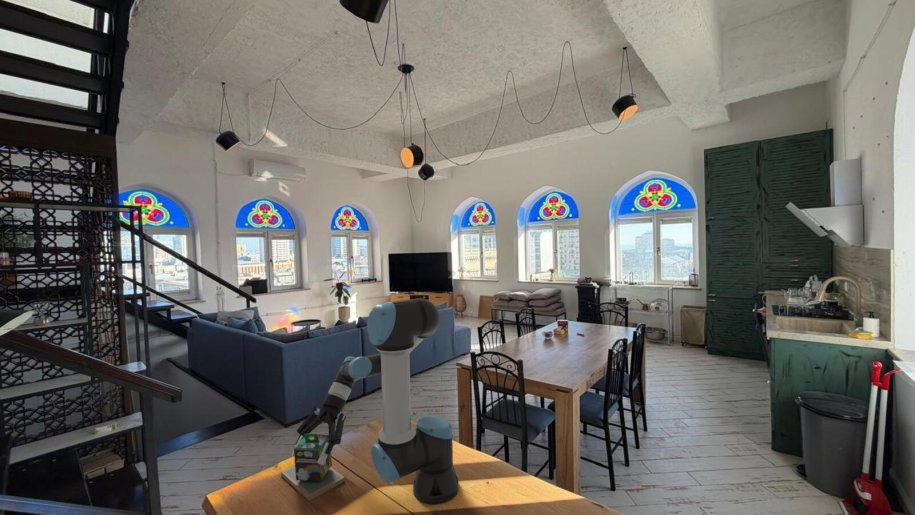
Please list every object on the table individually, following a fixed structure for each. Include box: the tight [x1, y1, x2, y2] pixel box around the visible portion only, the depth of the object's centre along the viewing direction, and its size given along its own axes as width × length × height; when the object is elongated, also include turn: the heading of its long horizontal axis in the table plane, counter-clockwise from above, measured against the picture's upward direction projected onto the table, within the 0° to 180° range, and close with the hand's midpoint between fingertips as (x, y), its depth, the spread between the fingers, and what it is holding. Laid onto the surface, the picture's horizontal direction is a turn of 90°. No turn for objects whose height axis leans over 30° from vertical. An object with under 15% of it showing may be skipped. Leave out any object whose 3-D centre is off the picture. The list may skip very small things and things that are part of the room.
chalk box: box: [293, 433, 333, 481], centre depth 134 cm, size 9×9×15 cm
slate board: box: [280, 465, 346, 502], centre depth 136 cm, size 20×13×2 cm, turn 48°
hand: (306, 460), depth 132 cm, fingers closed on chalk box, 11 cm apart
